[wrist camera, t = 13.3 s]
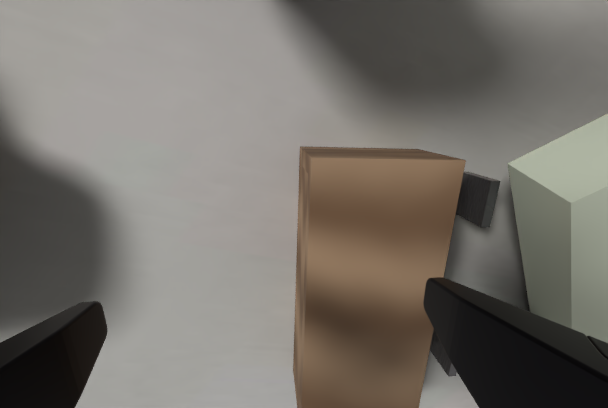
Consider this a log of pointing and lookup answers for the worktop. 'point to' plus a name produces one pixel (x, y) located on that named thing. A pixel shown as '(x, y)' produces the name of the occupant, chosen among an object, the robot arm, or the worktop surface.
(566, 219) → the rectangular block
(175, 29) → the worktop surface
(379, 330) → the cabinet
